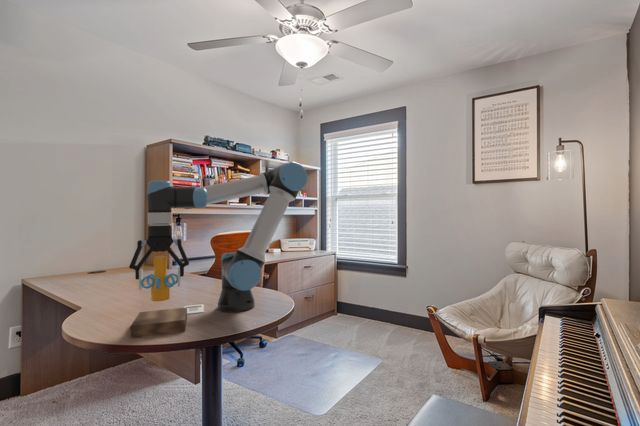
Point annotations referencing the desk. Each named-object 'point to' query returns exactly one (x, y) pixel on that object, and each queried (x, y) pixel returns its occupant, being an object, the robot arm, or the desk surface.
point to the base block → (159, 322)
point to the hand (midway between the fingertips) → (160, 287)
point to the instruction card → (195, 309)
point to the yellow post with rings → (160, 280)
